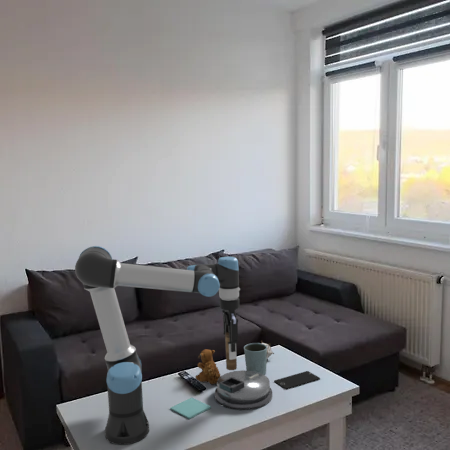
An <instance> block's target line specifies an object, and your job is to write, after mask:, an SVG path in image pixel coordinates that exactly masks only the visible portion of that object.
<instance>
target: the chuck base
mask: <svg viewBox="0 0 450 450" xmlns="http://www.w3.org/2000/svg"><path fill="white" fill-rule="evenodd" d="M272 399H273V390H272V388H271V387H270V393H269V395H268V397H267V398H265V399H264V400H262V401H259V402H256V403H252V404H234V403H230V402H227V401H224V400H222V399H221V398H220V397H219V396H218V394H217V387H216V388H215V390H214V400H215V401H216V402H217V404H219V405H220V406H222V407H224V408H227V409H231V410H235V411H238V410H239V411H248V410H249V411H251V410H256V409H259V408H262V407H265V406H266V405H268V404H269V403H270V402H271V400H272Z"/></svg>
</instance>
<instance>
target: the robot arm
mask: <svg viewBox="0 0 450 450" xmlns="http://www.w3.org/2000/svg"><path fill="white" fill-rule="evenodd" d="M217 261H218V262H217V263H216V262H215V263H210V264H209V263H207V264H206V263H205V264H193V265H192V264H191V265H188V266H187V267H186V269H182V268H181V269H180V268H172V267H162V266H153V265H143V264H132V263H122V262H120V261H119V259H113V257H112V255H111V254H110V252H109V251H108V249H106V248H104V247H102V246H99V245H94V246H90V247H89V246H88V247H87V248H85V249H84V250H83V251H82V252H80V255H79V256H78V259H77V261H76V263H75V265H74V271H75V272H74V273H75V275H76V277H77V279H78V280H79V281H80V282H81V283H82V285H83V289H84V290H86V291H88V292H89V293H90V298H91V300H92V304H93V308H94V312H95V315H96V319H97V321H98V325H99V328H100V332H101V335H102V338H103V339H102V340H103V342H104V345H105V348H106V354H105V356H104V360H105V364H106V367H107V374H106V385H107V399H108V402H107V403H108V417H107V420H106V426H105V428H104V429H105V430H104V433H105V434H104V435H105V439H106V440H107V441H108V443H109V442H110V443H112V444H115V445H130V444H134V443H137V442H140V441H142V440H143V439H144V438H146V437H147V436H148V435H149V433H150V422H149V420H148V417H147V415H146V413H145V410H144V402H143V401H144V400H143V399H144V397H143V381H142V380H143V374H142V373H143V372H142V371H143V370H142V368H143V367H142V360H141V359H140V357H139V355H138V353H137V348H136V347H135V346H134V345H133V344H131V343H130V339H129V335H128V332H127V329H126V326H125V321H124V318H123V313H122V311H121V307H120V303H119V299H118V296H117V293H116V290H115V288H117V287H129V288H130V287H131V288H142V289H151V290H152V289H153V290H162V291H173V292H185V293H195V294H200V295H202V296H204V297H207V298H208V297H209V298H210V297H214V296H216V294H217V293H219V294H218V295H219V308H220V309H221V312H222V325H223V335H224V336H225V333H226V332H229V341H230V342H228V344H229V360H232V359H237V344H238V343H239V333H238V332H239V331H238V330H239V327H238V325H239V319H238V317H237V313H236V310H238V309H239V308H240V291H241V288H240V284H239V283H240V279H239V278H240V277H239V275H240V272H239V270H240V269H239V260H238V259H237V258H236V257H235V256H223V257H222V256H221V257H219V258H218V260H217ZM224 339H225V341H226V338H224Z"/></svg>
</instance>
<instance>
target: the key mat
mask: <svg viewBox="0 0 450 450" xmlns="http://www.w3.org/2000/svg"><path fill="white" fill-rule="evenodd" d="M169 408H170V409H169V410H171V411H174V412H175V413H177V414H179V415H181V416H182V417H184V418H187V419H188V420H190V419H193V418H194V417H197V416H198V415H201V414H202V413H204V412H206V411H208V410H210V409H212V406H211V405H209V404H207V403H204V402H203V401H201V400H198V399H196V398H194V397H190V398H188V399H185V400H183V401H181V402H180V403H177V404H175V405H173V406H171V407H169Z"/></svg>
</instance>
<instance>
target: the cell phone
mask: <svg viewBox="0 0 450 450" xmlns="http://www.w3.org/2000/svg"><path fill="white" fill-rule="evenodd" d="M320 380H321V378H320V376H318V375H316V374H314V373H312V372H311V371H310V370H306V371H303V372H298V373H296V374H292V375H289V376H285V377H281V378H278V379H275V380H274V381H273V382H274V383H275V384H276V385H278V386H280V387H281V388H283V389H284V390H286V391H287V390H289V389H293V388H297V387H300V386H304V385H307V384H310V383H313V382H317V381H320Z"/></svg>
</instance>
